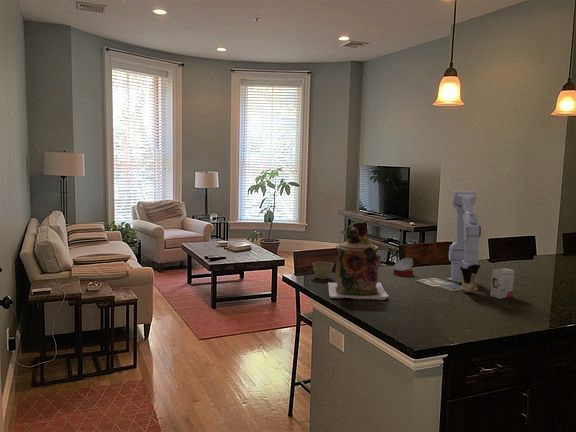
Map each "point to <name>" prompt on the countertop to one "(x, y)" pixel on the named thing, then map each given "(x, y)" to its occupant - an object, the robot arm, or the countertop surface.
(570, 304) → the countertop surface
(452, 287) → the ink pad
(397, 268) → the canned food
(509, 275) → the ink box
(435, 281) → the marked board
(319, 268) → the flower pot
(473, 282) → the stamp
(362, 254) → the cookie jar
